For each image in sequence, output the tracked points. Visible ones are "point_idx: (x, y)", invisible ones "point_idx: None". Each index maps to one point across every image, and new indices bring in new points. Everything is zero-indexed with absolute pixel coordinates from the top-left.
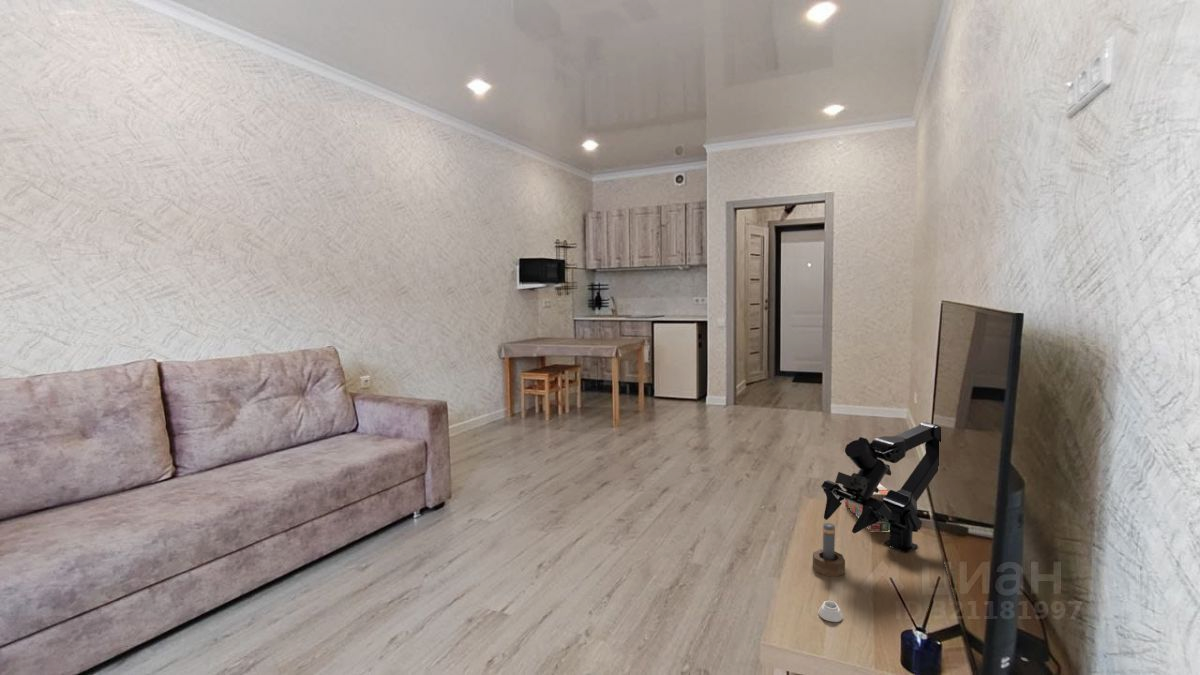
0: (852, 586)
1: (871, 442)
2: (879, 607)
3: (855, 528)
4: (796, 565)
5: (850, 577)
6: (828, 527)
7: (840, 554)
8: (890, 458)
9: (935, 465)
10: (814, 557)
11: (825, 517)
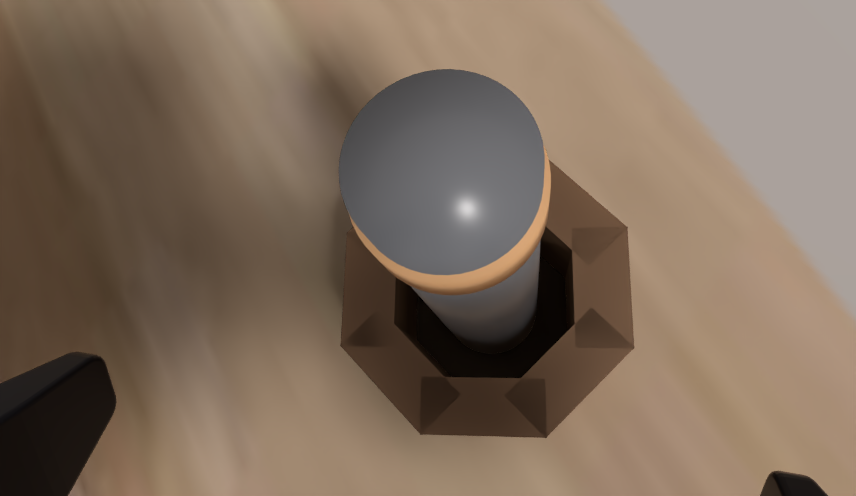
0: (240, 235)
1: None
2: (26, 160)
3: (5, 386)
4: (680, 142)
5: (311, 337)
6: (395, 86)
7: (433, 421)
8: None
9: None
10: (557, 170)
11: (773, 491)
